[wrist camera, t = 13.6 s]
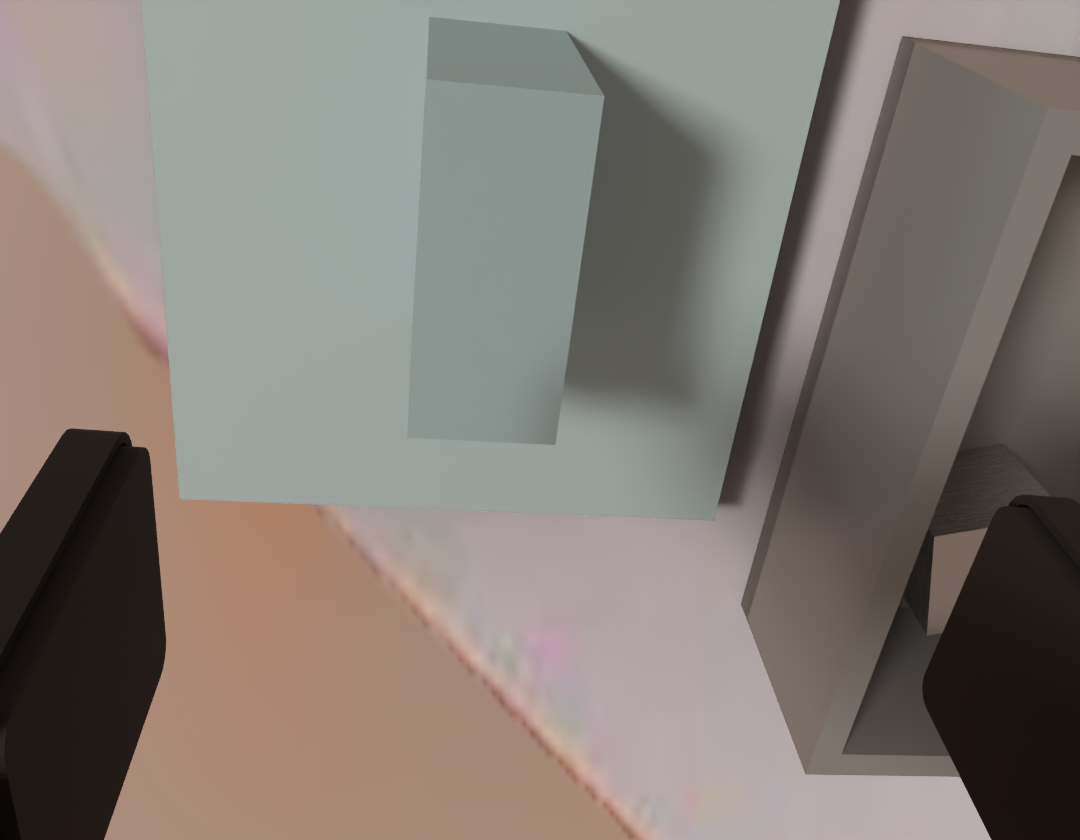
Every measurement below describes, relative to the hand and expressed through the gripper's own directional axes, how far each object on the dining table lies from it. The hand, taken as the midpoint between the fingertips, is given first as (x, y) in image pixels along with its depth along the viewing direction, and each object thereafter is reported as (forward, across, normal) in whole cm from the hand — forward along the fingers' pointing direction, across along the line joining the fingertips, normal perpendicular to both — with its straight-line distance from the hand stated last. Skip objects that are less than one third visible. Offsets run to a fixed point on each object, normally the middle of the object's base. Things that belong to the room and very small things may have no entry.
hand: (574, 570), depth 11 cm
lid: (+17, +1, +1) cm, 17 cm away
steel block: (+16, -14, +10) cm, 23 cm away
